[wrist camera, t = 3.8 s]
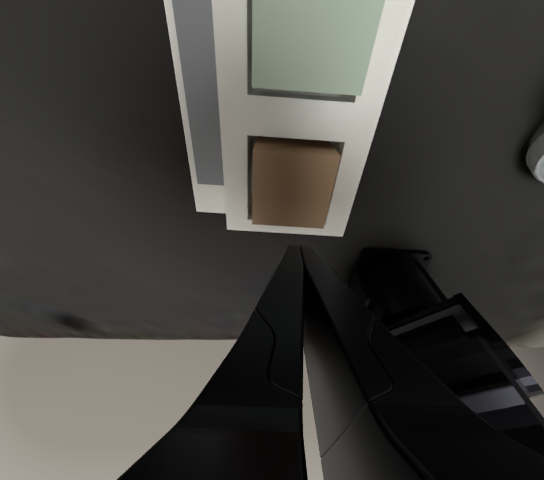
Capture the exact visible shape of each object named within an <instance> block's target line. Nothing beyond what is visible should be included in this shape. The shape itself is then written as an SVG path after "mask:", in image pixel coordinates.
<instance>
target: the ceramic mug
mask: <svg viewBox="0 0 544 480" xmlns="http://www.w3.org/2000/svg"><path fill="white" fill-rule="evenodd" d="M526 164H527V166H528V168H529V169H530V171H531V173H532V174H533V176H534V177H535V178H536V179H537V180H539V181H540V182H542V183H544V133H543V134H542V135H540V137H539V138H538V139H537V140H535V141H534V142H533V143H532V145H531V146H530V148H529V149H528V152H527V154H526Z"/></svg>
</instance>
